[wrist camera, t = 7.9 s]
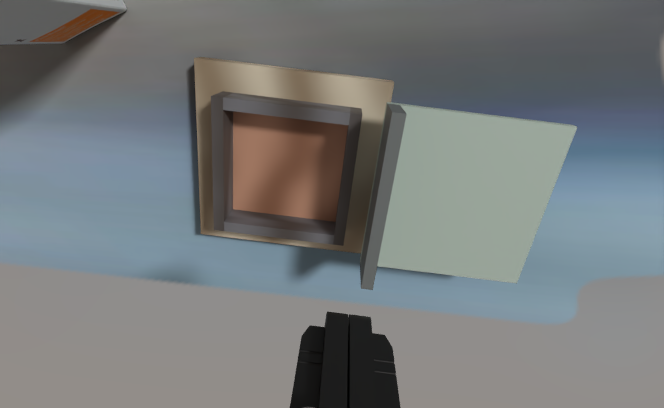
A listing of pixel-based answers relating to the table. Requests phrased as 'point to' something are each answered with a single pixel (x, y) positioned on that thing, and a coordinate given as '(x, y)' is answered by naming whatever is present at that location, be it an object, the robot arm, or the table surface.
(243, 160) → the socket board
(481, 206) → the cover
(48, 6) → the skincare box
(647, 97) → the table surface
